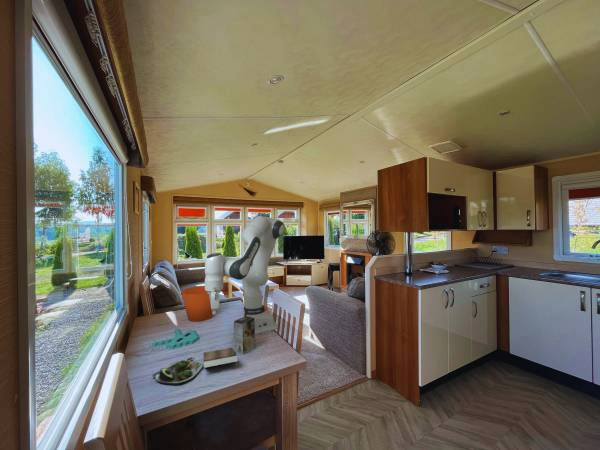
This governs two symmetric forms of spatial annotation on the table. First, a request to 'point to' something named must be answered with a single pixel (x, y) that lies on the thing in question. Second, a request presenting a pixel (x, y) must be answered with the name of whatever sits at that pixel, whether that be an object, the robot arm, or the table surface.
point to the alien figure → (179, 339)
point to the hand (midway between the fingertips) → (214, 313)
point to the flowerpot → (197, 304)
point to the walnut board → (218, 354)
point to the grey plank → (220, 361)
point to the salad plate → (177, 372)
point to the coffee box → (244, 335)
